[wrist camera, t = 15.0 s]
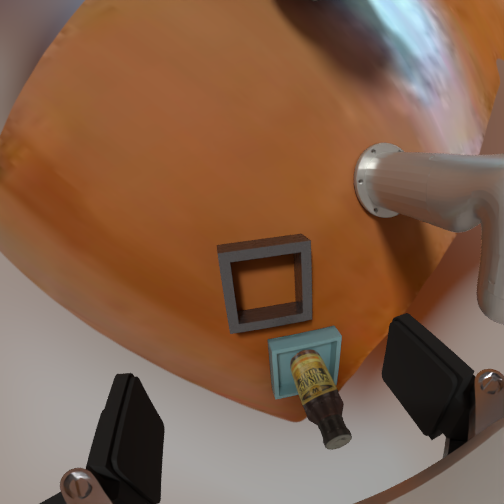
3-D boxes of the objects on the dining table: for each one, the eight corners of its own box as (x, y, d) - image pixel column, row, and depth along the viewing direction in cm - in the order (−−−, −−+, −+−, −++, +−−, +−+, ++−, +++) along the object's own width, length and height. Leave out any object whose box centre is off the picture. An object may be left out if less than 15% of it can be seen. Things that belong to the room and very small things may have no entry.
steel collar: (301, 233, 43) (310, 240, 39) (304, 307, 47) (311, 319, 43) (216, 245, 41) (217, 253, 38) (228, 320, 45) (230, 333, 42)
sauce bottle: (313, 341, 48) (359, 421, 30) (323, 362, 50) (366, 438, 32) (281, 358, 48) (315, 443, 30) (293, 377, 50) (326, 457, 32)
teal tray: (334, 325, 49) (341, 335, 46) (330, 374, 53) (336, 384, 50) (267, 339, 48) (271, 351, 44) (271, 387, 52) (275, 399, 48)
